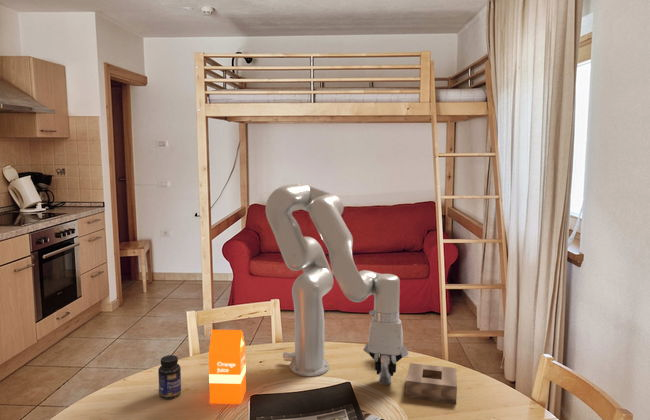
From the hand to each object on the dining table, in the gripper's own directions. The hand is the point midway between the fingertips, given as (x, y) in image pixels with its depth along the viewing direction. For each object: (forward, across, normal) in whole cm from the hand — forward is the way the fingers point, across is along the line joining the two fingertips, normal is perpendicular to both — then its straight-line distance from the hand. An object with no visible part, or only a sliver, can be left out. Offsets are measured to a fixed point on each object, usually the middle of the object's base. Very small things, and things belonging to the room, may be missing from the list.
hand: (385, 372), depth 150 cm
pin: (+3, 0, 0) cm, 3 cm away
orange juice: (+3, -42, -21) cm, 47 cm away
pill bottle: (+3, -59, -24) cm, 64 cm away
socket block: (+3, +14, -2) cm, 14 cm away
